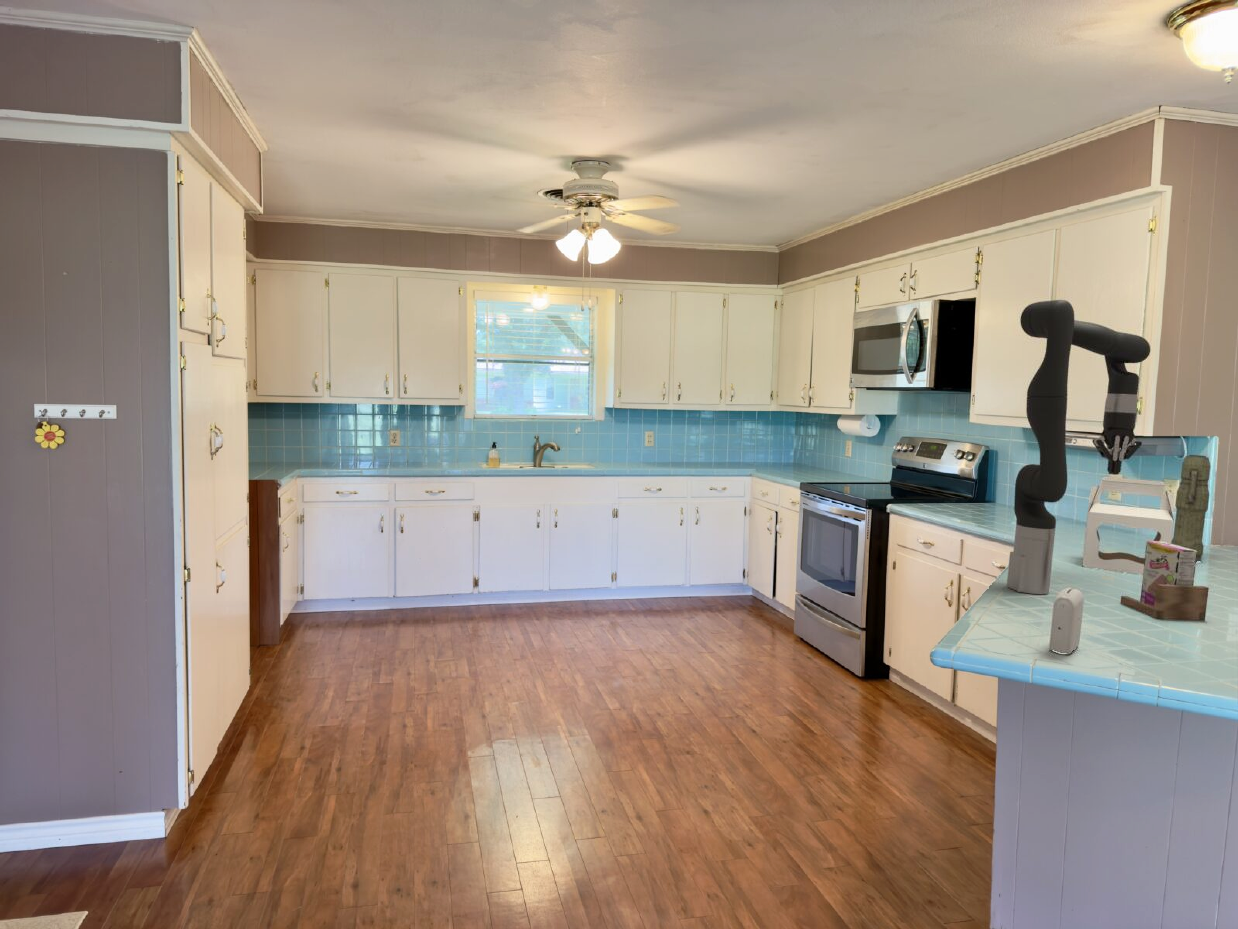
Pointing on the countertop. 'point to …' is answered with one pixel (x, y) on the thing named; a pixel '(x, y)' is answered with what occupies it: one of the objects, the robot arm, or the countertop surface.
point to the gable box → (1125, 521)
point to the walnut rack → (1174, 602)
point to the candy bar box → (1166, 568)
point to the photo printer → (1066, 621)
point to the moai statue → (1192, 503)
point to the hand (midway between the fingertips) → (1113, 474)
